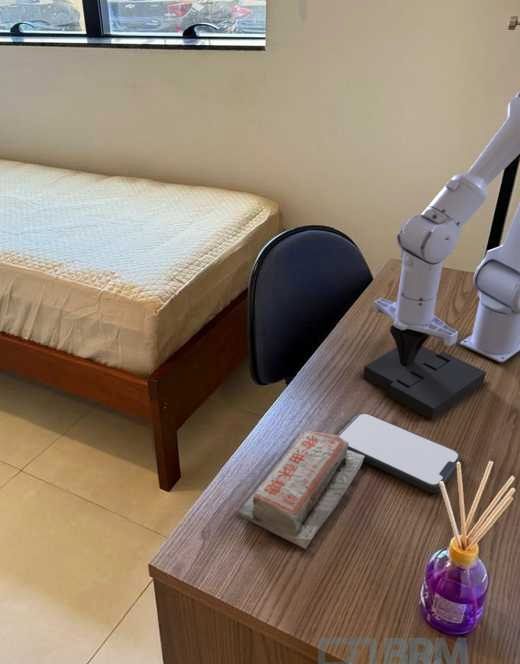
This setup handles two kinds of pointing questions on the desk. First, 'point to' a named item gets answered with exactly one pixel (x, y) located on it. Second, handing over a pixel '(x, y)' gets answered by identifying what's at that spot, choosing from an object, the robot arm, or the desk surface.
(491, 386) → the desk surface
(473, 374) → the pad
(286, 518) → the packaged product
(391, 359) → the loose pad
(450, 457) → the smartphone
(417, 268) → the robot arm
